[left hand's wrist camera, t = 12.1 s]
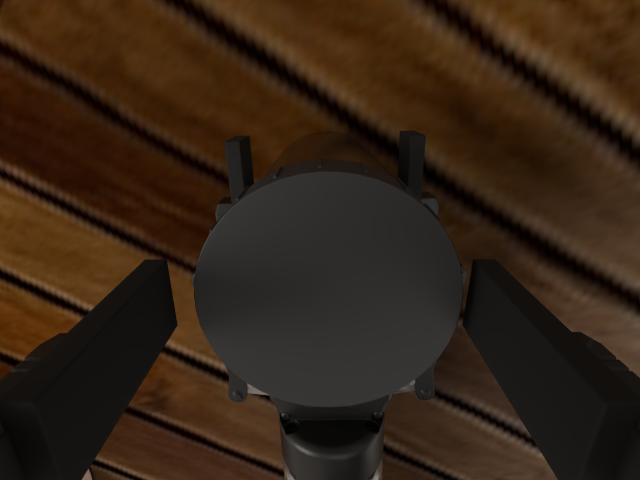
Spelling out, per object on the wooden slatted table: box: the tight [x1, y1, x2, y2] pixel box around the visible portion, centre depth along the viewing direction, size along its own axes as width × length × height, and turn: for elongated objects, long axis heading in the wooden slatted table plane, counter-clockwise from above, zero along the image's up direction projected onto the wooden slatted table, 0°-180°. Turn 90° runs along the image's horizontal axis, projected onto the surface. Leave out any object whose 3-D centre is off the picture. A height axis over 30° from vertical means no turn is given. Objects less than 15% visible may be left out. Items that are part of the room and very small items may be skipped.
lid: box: [194, 157, 463, 407], centre depth 14 cm, size 9×9×2 cm
